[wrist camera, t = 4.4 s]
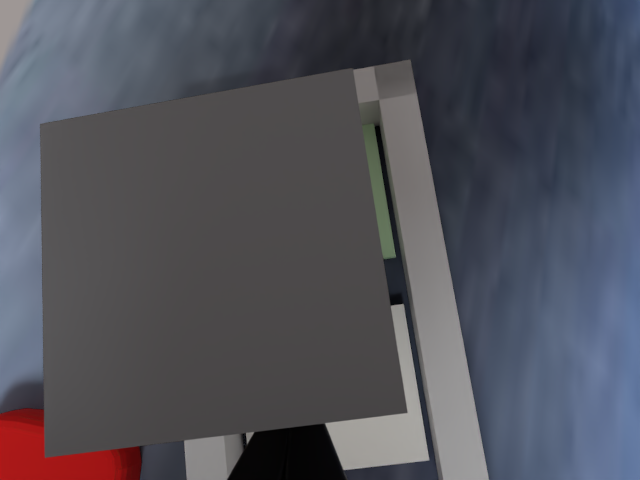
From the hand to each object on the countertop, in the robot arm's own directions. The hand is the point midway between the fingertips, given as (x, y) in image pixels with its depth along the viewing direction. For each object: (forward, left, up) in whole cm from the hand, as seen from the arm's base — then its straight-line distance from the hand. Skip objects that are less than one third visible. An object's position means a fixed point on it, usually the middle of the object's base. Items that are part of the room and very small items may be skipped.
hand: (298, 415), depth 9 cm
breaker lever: (+2, 0, -8) cm, 8 cm away
